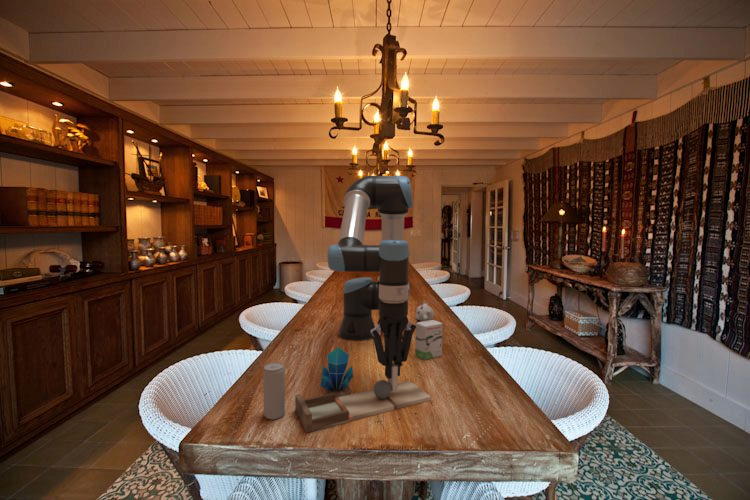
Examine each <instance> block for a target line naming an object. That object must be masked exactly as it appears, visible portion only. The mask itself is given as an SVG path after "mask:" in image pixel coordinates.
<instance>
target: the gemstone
mask: <svg viewBox="0 0 750 500" xmlns="http://www.w3.org/2000/svg"><path fill="white" fill-rule="evenodd" d="M326 357H327V358H326V359H327V367H326V366H325V365H324V364H323V365H322V371H321V379H320V384H319V386H320V387H321V388H324V390H323V395H326V394H331V393H335V398H337V397H341V396H346V395H350V394H352V393H351V391H352V390H351V387H350V386H349V384H350V383H351V381H352V379H353V378H354V368H353V365H351V366H349V368H348V369H347V366H348V365H349V359H350V355H349V353H347V352H346V351H345V350H344V349H342V348H340V346H338V347H336V348H334V350H332V351H330V352H329V353H328V354H326Z"/></svg>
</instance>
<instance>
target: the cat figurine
mask: <svg viewBox="0 0 750 500" xmlns="http://www.w3.org/2000/svg"><path fill="white" fill-rule="evenodd" d="M434 316H435V311H434V310H433V308H432V307H431V306H429V305H428V301H425V300H423V301H422V303H421V304H420V305H419V306H417V308H416V314H415V316H414V317H415V319H416V320H418V321H419V322H423V321H429V320H434Z"/></svg>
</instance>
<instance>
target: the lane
mask: <svg viewBox="0 0 750 500" xmlns="http://www.w3.org/2000/svg"><path fill="white" fill-rule="evenodd" d="M294 395H295V399H294V400H295V401H294V406H295V413H296V415H297V416H298V418H299V421H300V423H301V425H302V427H303V429H304V430H305V433H306V434H307V433H312V432H315V431H319V430H323V429H326V428H330V427H335V426H338V425H341V424H346V423H349V422H350V423H351V422H353V421H357V420H361V419H365V418H369V417H372V416H376V415H378V414H379V415H380V414H383V413H387V412H392V411H395V410H399V409H402V408H406V407H410V406H413V405H417V404H421V403H422V404H423V403H425V402H429V401H431V398H432V397H431V396H430V395H429V394H428V393H426V392H425V391H424V390H422V389H421V387H419V386H417V385H416V384H414V382H412V381H410V380H409V381H403V382H400V383H398V386H397V391H394V392H392V391H391V393H390V395H389V396H388V397H387V398H385V399H380V398H378V397H377V396H376V395H375V393H374V388H373V389H368V390H365V391H359V392H355V393H354V392H353V393H350V394H349V395H346V396H341V397H337V398H335V393H331V394H326V395H324V394H323V395H318V396H313V397H309V398H305V399H304V398H303V396H302V395H301V393H299V394H294Z"/></svg>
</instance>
